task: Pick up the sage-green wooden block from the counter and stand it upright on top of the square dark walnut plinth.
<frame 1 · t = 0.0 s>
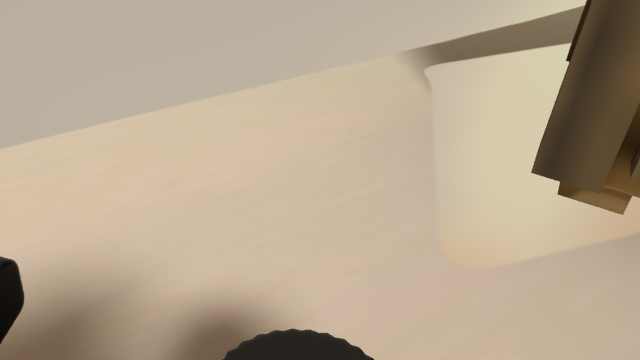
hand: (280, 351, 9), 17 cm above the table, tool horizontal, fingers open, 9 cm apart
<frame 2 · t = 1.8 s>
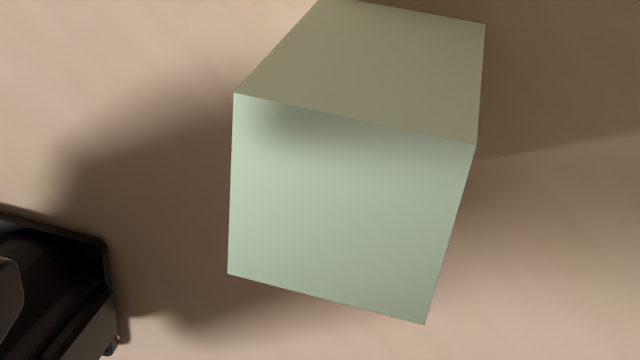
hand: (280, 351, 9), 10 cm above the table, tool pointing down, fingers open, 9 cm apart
sage block: (389, 83, 18), on the table
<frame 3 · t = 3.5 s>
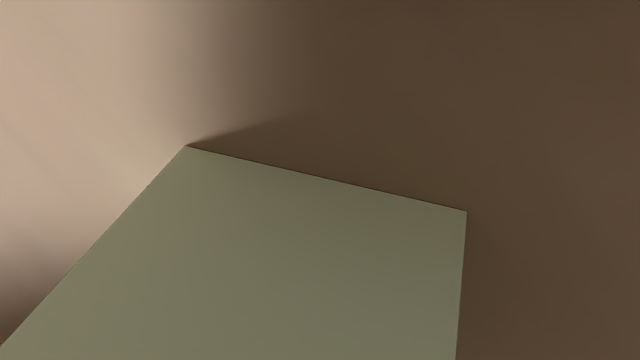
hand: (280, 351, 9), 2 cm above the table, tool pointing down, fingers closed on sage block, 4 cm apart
sage block: (306, 285, 11), on the table, touching gripper
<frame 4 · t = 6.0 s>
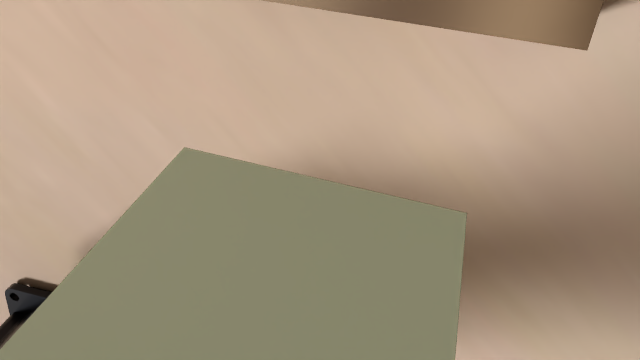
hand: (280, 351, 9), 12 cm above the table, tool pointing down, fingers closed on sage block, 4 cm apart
sage block: (306, 286, 11), point 11 cm above the table, touching gripper
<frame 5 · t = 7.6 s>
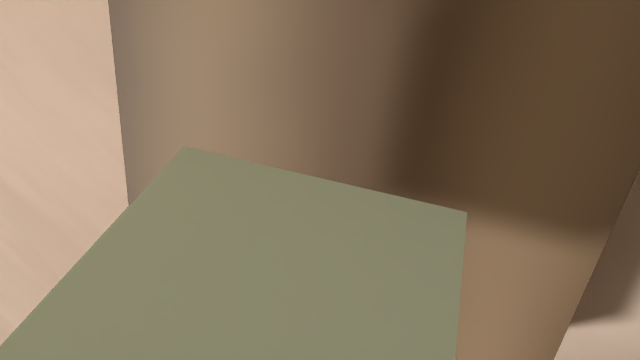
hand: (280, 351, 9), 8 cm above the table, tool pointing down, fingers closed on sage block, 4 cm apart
walnut plinth: (373, 120, 16), on the table
sage block: (305, 286, 11), point 6 cm above the table, touching gripper
when the fingers open (6 cm above the table, at t = 8.7 s): sage block drops 2 cm, resting on walnut plinth.
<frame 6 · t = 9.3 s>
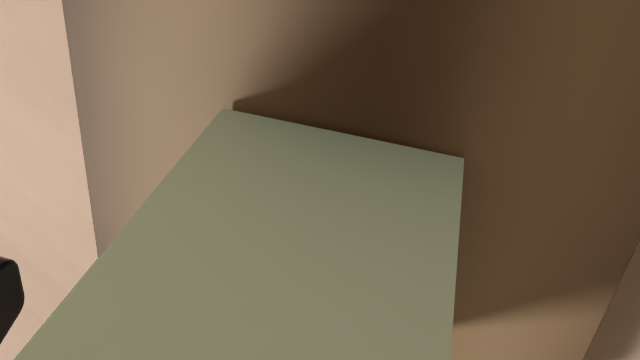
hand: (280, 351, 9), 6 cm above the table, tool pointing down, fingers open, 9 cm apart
walnut plinth: (361, 148, 15), on the table, touching sage block
sage block: (326, 229, 12), point 3 cm above the table, touching walnut plinth
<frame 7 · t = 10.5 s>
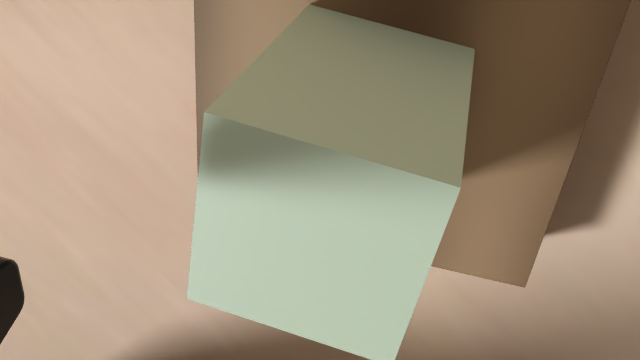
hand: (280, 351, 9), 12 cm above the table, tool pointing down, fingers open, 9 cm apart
walnut plinth: (393, 59, 20), on the table, touching sage block
sage block: (371, 102, 17), point 2 cm above the table, touching walnut plinth
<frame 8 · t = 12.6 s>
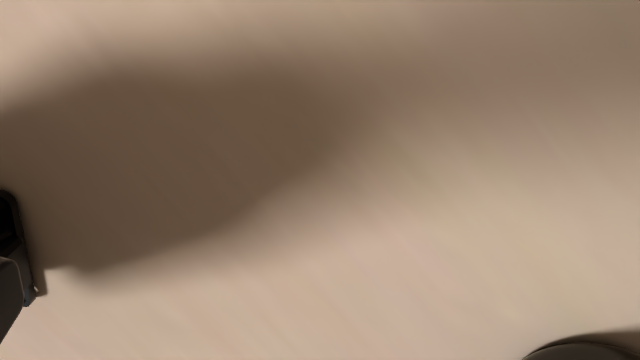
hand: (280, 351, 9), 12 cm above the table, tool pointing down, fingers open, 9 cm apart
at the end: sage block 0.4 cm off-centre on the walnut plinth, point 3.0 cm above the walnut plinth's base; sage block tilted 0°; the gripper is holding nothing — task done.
